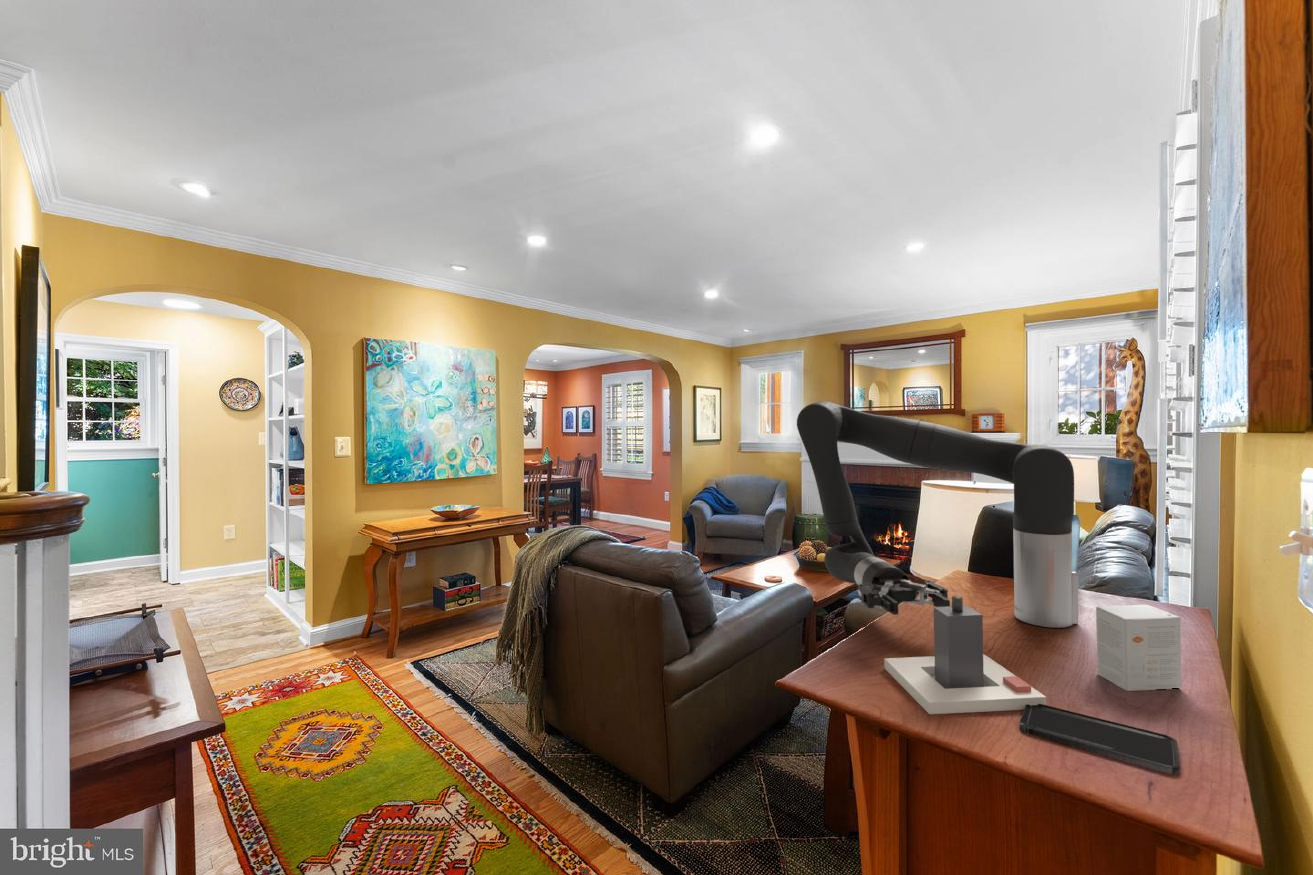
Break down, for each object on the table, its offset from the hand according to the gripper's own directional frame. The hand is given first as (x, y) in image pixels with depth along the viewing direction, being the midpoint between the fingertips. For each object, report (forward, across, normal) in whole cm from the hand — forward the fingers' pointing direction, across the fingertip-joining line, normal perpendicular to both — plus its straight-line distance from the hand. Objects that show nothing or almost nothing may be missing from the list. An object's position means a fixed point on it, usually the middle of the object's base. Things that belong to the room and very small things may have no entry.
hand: (921, 607), depth 94 cm
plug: (+11, 0, +8) cm, 14 cm away
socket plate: (+11, 0, +8) cm, 14 cm away
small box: (+12, +26, +9) cm, 30 cm away
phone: (+25, +9, +9) cm, 28 cm away
